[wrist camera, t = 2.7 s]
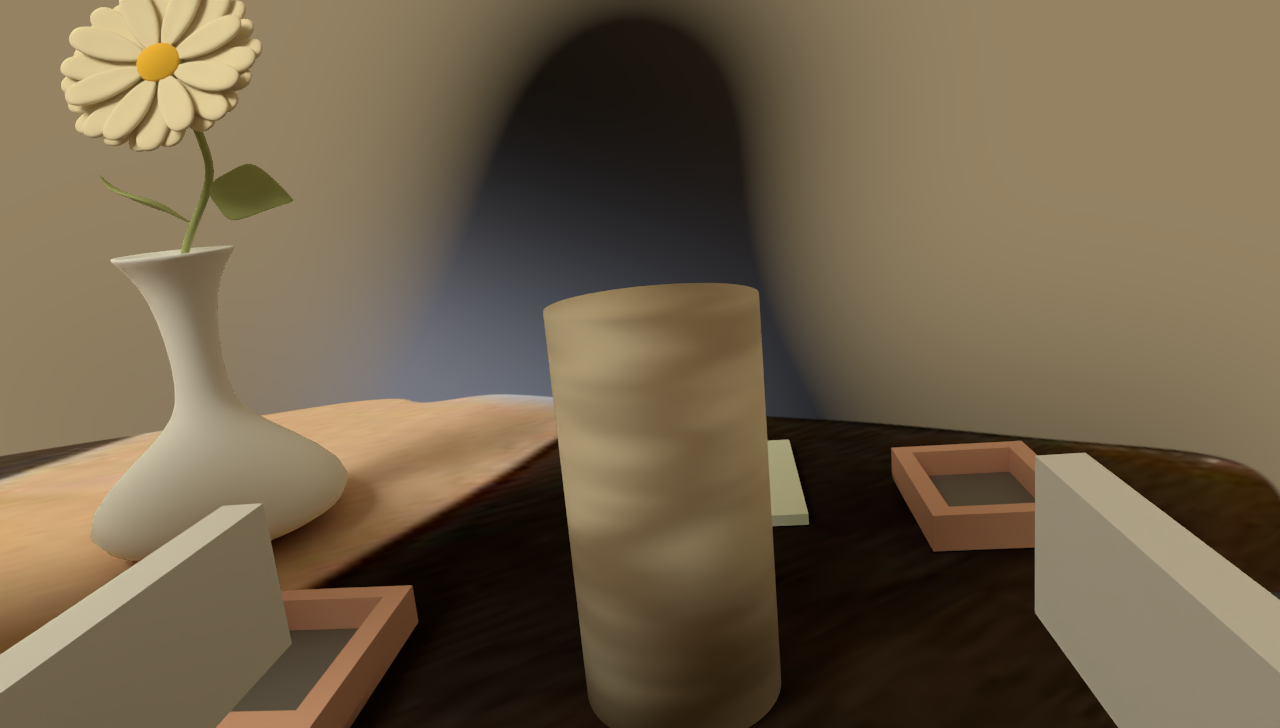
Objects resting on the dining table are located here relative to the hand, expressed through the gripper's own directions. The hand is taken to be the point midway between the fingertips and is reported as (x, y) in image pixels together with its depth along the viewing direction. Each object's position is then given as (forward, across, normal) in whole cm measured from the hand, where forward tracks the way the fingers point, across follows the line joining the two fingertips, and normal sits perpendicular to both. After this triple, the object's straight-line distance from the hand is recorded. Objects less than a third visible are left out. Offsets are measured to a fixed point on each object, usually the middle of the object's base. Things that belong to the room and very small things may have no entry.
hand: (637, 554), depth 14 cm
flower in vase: (+23, -22, -9) cm, 33 cm away
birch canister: (+10, 0, -9) cm, 14 cm away
